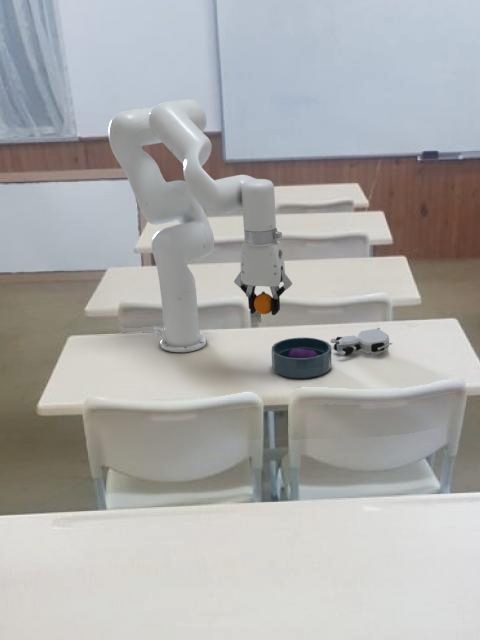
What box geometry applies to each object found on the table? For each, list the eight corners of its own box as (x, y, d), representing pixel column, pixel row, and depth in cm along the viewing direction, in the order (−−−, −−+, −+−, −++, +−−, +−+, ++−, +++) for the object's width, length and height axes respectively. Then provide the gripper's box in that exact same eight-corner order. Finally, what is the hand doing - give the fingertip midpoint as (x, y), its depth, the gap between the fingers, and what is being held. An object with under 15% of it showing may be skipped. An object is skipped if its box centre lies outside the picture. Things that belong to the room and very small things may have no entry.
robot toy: (339, 365, 221) (395, 356, 223) (338, 349, 219) (394, 340, 220) (329, 349, 232) (382, 340, 233) (328, 333, 229) (381, 324, 230)
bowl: (264, 376, 215) (263, 355, 212) (283, 355, 227) (282, 335, 224) (321, 382, 210) (321, 361, 207) (337, 360, 222) (337, 340, 219)
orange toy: (251, 316, 207) (249, 293, 204) (258, 309, 211) (257, 288, 208) (270, 317, 206) (269, 295, 203) (277, 311, 209) (276, 289, 207)
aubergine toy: (286, 366, 219) (285, 353, 216) (291, 358, 222) (290, 344, 219) (319, 369, 217) (318, 356, 214) (323, 361, 219) (322, 348, 217)
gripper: (299, 234, 199) (302, 310, 209) (233, 231, 204) (238, 305, 214) (289, 241, 193) (292, 319, 203) (220, 238, 198) (226, 315, 208)
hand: (264, 311), depth 208 cm, fingers closed on orange toy, 4 cm apart
